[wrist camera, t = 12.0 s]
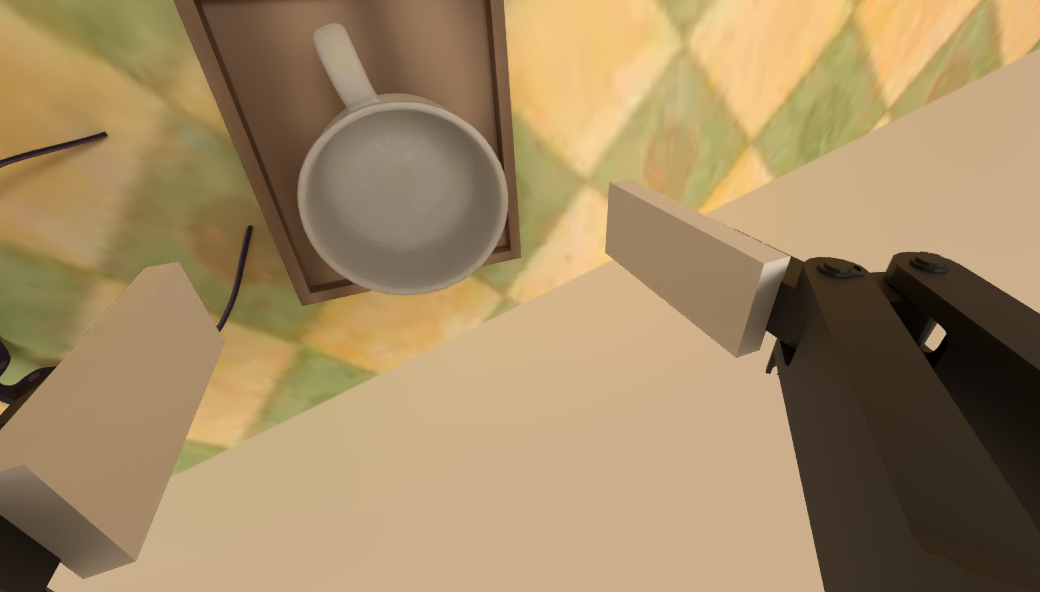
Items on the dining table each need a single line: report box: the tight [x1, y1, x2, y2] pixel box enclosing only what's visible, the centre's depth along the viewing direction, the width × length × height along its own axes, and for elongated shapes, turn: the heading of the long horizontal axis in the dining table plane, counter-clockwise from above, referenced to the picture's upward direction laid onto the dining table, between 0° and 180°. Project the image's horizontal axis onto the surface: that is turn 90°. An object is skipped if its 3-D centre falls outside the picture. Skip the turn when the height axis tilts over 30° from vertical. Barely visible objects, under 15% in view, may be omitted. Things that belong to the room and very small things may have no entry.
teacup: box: [297, 23, 508, 295], centre depth 24 cm, size 14×11×8 cm
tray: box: [174, 0, 521, 306], centre depth 27 cm, size 17×19×2 cm
